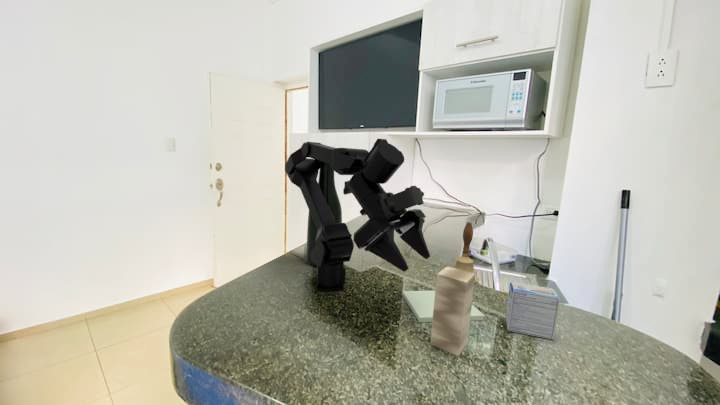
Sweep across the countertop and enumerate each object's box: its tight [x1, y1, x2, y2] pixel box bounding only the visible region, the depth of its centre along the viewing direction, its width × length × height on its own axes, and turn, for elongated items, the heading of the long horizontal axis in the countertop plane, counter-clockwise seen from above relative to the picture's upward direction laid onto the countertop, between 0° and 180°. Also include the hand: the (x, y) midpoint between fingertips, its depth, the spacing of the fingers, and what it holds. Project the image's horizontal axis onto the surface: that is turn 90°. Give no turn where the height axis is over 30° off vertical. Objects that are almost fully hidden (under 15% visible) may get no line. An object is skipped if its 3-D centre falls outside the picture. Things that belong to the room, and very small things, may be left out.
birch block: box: [429, 266, 476, 357], centre depth 52 cm, size 5×5×13 cm
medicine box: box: [505, 281, 561, 341], centre depth 58 cm, size 8×4×9 cm, turn 71°
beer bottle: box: [305, 162, 343, 267], centre depth 88 cm, size 10×10×33 cm
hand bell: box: [453, 221, 480, 284], centre depth 83 cm, size 8×8×16 cm
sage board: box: [401, 290, 485, 323], centre depth 66 cm, size 14×12×1 cm
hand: (418, 263), depth 55 cm, fingers open, 9 cm apart
